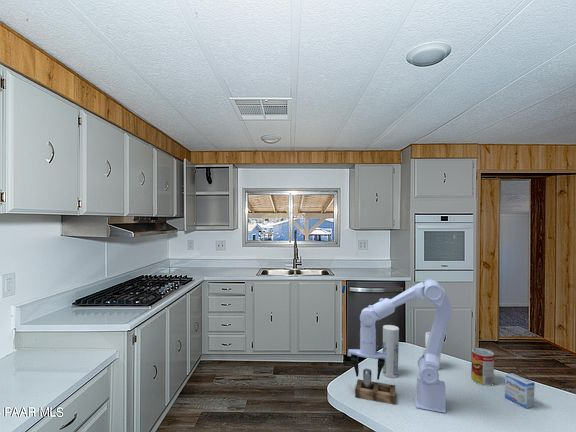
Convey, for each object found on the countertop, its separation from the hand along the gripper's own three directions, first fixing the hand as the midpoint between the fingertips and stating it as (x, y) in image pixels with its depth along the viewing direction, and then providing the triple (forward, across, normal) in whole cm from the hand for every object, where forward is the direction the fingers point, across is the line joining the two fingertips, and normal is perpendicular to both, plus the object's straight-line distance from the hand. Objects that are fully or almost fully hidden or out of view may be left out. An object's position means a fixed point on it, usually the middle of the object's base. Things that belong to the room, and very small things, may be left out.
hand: (367, 376), depth 125 cm
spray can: (+7, -8, -19) cm, 22 cm away
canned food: (+7, -44, -26) cm, 51 cm away
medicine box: (+7, -53, -13) cm, 55 cm away
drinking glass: (+7, -26, -32) cm, 42 cm away
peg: (+6, 0, 0) cm, 6 cm away
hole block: (+6, -3, 0) cm, 7 cm away
